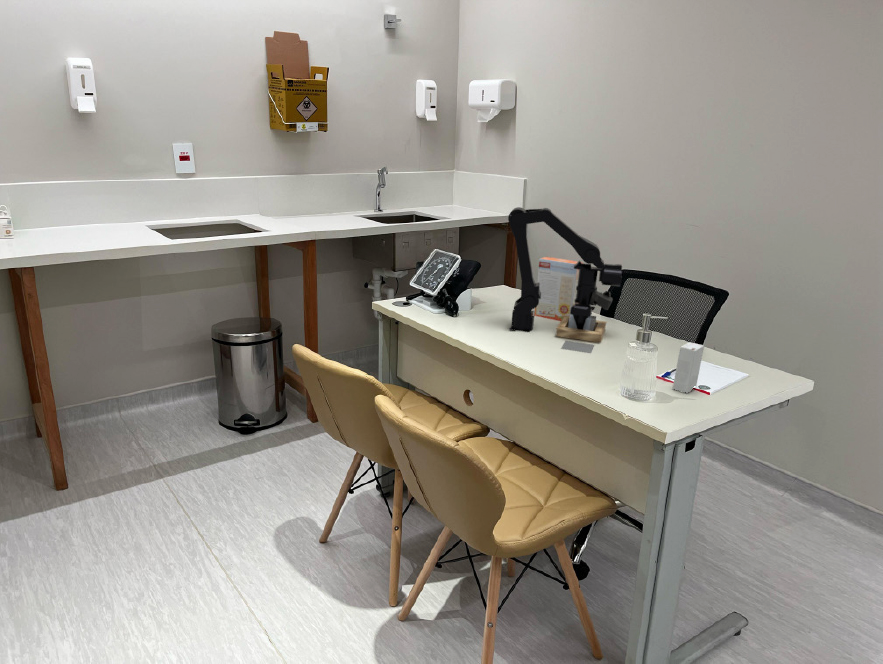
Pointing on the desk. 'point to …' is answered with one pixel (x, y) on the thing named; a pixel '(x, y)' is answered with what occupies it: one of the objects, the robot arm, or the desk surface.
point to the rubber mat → (578, 346)
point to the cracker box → (556, 287)
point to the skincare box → (688, 367)
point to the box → (588, 324)
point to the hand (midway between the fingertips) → (581, 330)
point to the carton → (581, 331)
